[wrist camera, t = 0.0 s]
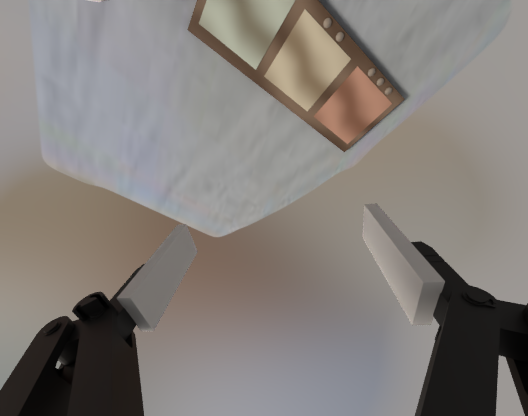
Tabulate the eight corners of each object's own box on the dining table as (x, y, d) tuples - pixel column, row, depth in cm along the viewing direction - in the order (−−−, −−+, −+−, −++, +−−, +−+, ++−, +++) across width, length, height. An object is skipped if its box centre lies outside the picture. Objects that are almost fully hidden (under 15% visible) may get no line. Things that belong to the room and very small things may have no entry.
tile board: (230, -99, 21) (229, -103, 20) (401, 97, 34) (404, 99, 33) (189, 29, 28) (187, 30, 27) (343, 149, 41) (344, 152, 40)
